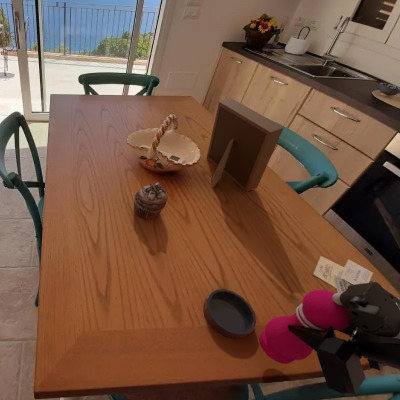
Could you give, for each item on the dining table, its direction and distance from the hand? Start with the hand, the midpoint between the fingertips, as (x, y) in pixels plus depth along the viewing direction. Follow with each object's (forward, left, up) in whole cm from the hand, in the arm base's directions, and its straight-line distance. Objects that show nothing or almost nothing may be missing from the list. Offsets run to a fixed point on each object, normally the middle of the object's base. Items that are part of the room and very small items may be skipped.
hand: (295, 319), depth 47 cm
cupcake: (+43, -3, -13) cm, 45 cm away
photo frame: (+47, -40, -13) cm, 63 cm away
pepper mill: (-2, 0, -10) cm, 10 cm away
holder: (+8, +1, -13) cm, 15 cm away
